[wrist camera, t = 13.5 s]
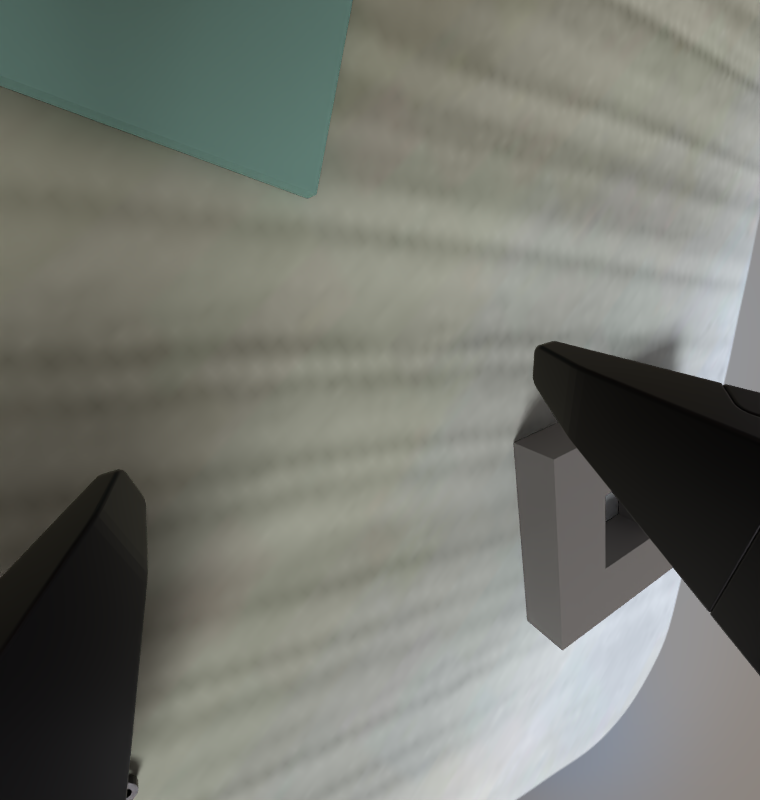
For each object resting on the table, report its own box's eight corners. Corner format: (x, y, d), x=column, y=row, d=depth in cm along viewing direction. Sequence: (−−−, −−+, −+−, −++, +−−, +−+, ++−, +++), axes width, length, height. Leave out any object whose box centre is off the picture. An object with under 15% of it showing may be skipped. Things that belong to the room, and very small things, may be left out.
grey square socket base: (527, 620, 32) (562, 650, 29) (513, 442, 27) (553, 459, 24) (651, 536, 37) (689, 555, 35) (657, 376, 33) (702, 384, 30)
